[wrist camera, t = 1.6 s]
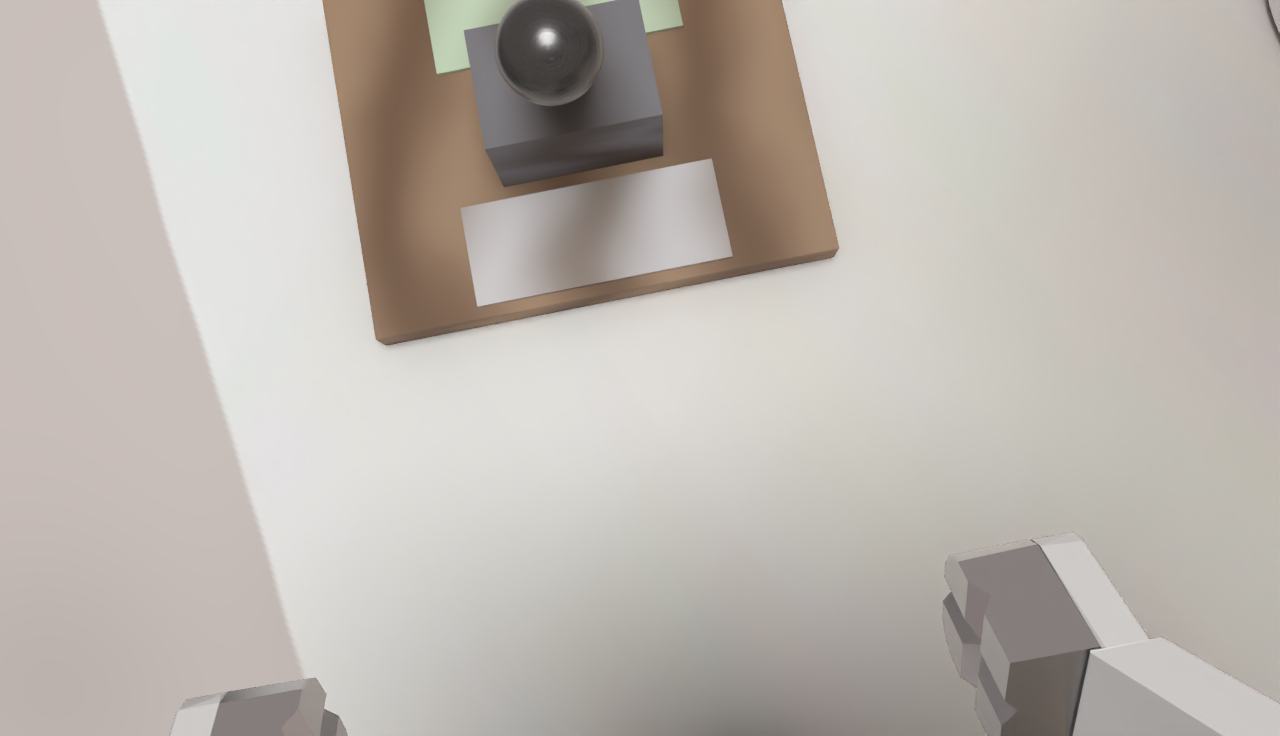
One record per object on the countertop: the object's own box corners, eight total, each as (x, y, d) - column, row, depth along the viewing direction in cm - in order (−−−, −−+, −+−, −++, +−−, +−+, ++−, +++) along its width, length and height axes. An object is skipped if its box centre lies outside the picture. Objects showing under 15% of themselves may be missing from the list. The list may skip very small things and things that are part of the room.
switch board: (757, -74, 45) (770, -161, 39) (833, 257, 43) (859, 216, 37) (332, 10, 45) (282, -65, 39) (386, 345, 43) (340, 319, 37)
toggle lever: (589, 10, 37) (592, -24, 25) (604, 90, 38) (615, 95, 26) (512, 25, 37) (477, -2, 25) (529, 105, 38) (504, 117, 26)
